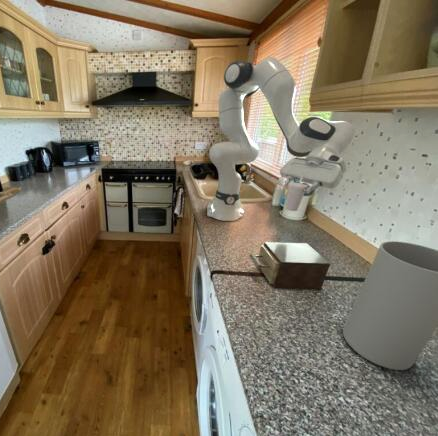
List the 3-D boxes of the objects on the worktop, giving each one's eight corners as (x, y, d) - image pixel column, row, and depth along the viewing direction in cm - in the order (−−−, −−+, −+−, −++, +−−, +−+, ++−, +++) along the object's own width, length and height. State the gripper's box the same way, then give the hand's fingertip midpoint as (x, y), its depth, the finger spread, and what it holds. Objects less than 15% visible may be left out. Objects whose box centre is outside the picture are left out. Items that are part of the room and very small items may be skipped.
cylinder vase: (329, 327, 63) (364, 242, 53) (373, 324, 64) (415, 240, 54) (375, 374, 51) (431, 277, 41) (427, 369, 52) (494, 274, 43)
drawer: (256, 283, 77) (261, 262, 74) (244, 263, 88) (248, 244, 85) (313, 285, 77) (320, 264, 74) (294, 265, 87) (300, 246, 84)
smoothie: (304, 212, 89) (314, 175, 83) (285, 211, 90) (294, 174, 85) (297, 207, 95) (307, 171, 89) (280, 205, 96) (288, 170, 90)
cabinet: (274, 287, 77) (281, 262, 73) (259, 265, 89) (264, 242, 85) (321, 289, 77) (330, 263, 73) (299, 266, 88) (306, 243, 84)
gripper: (290, 151, 96) (268, 178, 96) (348, 159, 79) (322, 191, 79) (294, 162, 100) (273, 187, 99) (351, 171, 83) (326, 202, 83)
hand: (295, 189), depth 89 cm, fingers closed on smoothie, 6 cm apart
